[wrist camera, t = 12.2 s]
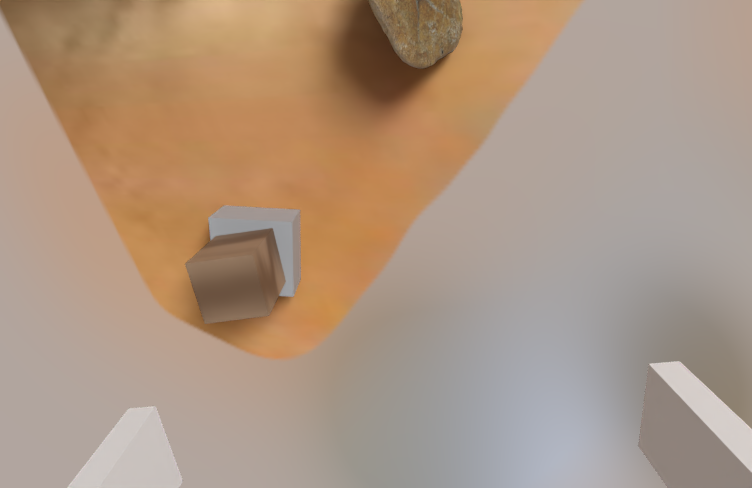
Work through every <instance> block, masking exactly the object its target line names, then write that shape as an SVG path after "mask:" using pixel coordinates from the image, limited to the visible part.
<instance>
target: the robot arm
mask: <svg viewBox="0 0 752 488" xmlns="http://www.w3.org/2000/svg"><path fill="white" fill-rule="evenodd" d="M638 446H639V448H640V449H641V451H642V452H643V453H644V455H645V456H646V458H647V459H648V460H649V462H650V463H651V465H652V466H653V468H654V469H655V471H656V472H657V473H658V475H659V476H660V477H661V479H662V480H663V482H664V483H665V485H666V486H667V488H752V429H751V428H750V427H749V426H748V425H747V424H746V423H745V422H744V421H742V420H741V419H740V418H739V417H738V416H737V415H736V414H735V413H734V412H733V411H732V410H731V409H730V408H729V407H728V406H726V405H725V404H724V403H723V402H722V401H721V400H720V399H719V398H718V397H717V396H716V395H715V394H714V393H713V392H712V391H711V390H709V389H708V388H707V387H706V386H705V385H704V384H703V383H702V382H701V381H700V380H699V379H698V378H697V377H696V376H695V375H693V374H692V373H691V372H690V371H689V370H688V369H687V368H686V367H685V366H684V365H683V364H682V363H681V362H680V361H676V362H665V363H653V364H649V366H648V374H647V382H646V389H645V398H644V406H643V413H642V421H641V429H640V436H639V444H638ZM182 481H183V480H182V477H181V474H180V471H179V469H178V466H177V464H176V461H175V458H174V455H173V453H172V450H171V447H170V444H169V442H168V439H167V436H166V434H165V431H164V428H163V425H162V422H161V420H160V417H159V414H158V412H157V409H156V407H155V406H153V407H141V408H129V409H128V410H127V411H126V412H125V414H124V415H123V416H122V418H121V419H120V420H119V421H118V423H117V424H116V425H115V427H114V428H113V429H112V431H111V432H110V433H109V434H108V436H107V437H106V438H105V440H104V441H103V442H102V443H101V445H100V446H99V447H98V449H97V450H96V451H95V452H94V454H93V455H92V456H91V458H90V459H89V460H88V462H87V463H86V464H85V465H84V467H83V468H82V469H81V470H80V472H79V473H78V474H77V476H76V477H75V478H74V480H73V481H72V482H71V483H70V485H69V486H68V487H67V488H180V485H181V483H182Z"/></svg>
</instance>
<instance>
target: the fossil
mask: <svg viewBox="0 0 752 488" xmlns="http://www.w3.org/2000/svg"><path fill="white" fill-rule="evenodd" d="M368 1H369V5H370V7H371V9H372V10H373V13H374V15H375V17H376V19H377V20H378V22H379V24H380V25H381V27H382V30H383V32H384V33H385V34H386V35H387V37H388V39H389V41H390V43H391V45H392V48H393V49H394V51H395V52H396V54H397V55H398V56H399V57H400V59H401V60H402V61H403V62H405V63H407V64H408V65H410V66H412V67H415V68H426V67H429V66H431V65H433V64H435V62H436V61H437V60H439V59H441V58H443V57H444V56H446V55H447V54H449V53H451V52H453V51H454V49H455V48H456V47H457V45H458V42H459V39H460V36H461V33H462V30H463V28H462V19H463V18H462V8H461V4H460V1H459V0H368Z"/></svg>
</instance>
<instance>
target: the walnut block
mask: <svg viewBox="0 0 752 488" xmlns="http://www.w3.org/2000/svg"><path fill="white" fill-rule="evenodd" d="M185 265H186V268H187V271H188V274H189V277H190V280H191V283H192V286H193V289H194V293H195V296H196V299H197V302H198V305H199V308H200V311H201V314H202V317H203V320H204V323H205V324H208V323H216V322H224V321H232V320H240V319H248V318H256V317H263V316H269V315H270V313H271V311H272V309H273V307H274V305H275V303H276V301H277V299H278V297H279V294H280V292H281V290H282V288H283V286H284V284H285V282H286V280H285V275H284V271H283V267H282V263H281V259H280V255H279V251H278V247H277V243H276V239H275V235H274V231H273V228H269V229H262V230H255V231H248V232H241V233H234V234H227V235H220V236H215V237H214V238H213V239H212V240H211V241H210V242H208V243H207V244H206V245H205V246H204V247H203V248H202V249H201V250H200V251H199V252H197V253H196V254H195V255H194V256H193V257H192V258H191V259H190V260H189V261H188V262H186V263H185Z"/></svg>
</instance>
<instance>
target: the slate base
mask: <svg viewBox="0 0 752 488" xmlns="http://www.w3.org/2000/svg"><path fill="white" fill-rule="evenodd" d="M269 228H273V231H274V235H275V239H276V243H277V247H278V251H279V255H280V259H281V263H282V267H283V271H284V275H285V280H286V282H285V284H284V286H283V288H282V290H281V292H280V294H279V296H290V297H294V294H295V292H296V289H297V287H298V284H299V282H300V280H301V250H300V210H296V209H278V208H259V207H241V206H223V207H221V208H220V209H219V210H218V211H216V212H215V213H214V214H212V215H211V216H210V217H209V229H210V241H211V240H212V239H213V238H214V237H215V236H220V235H227V234H234V233H241V232H248V231H255V230H262V229H269Z"/></svg>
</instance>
